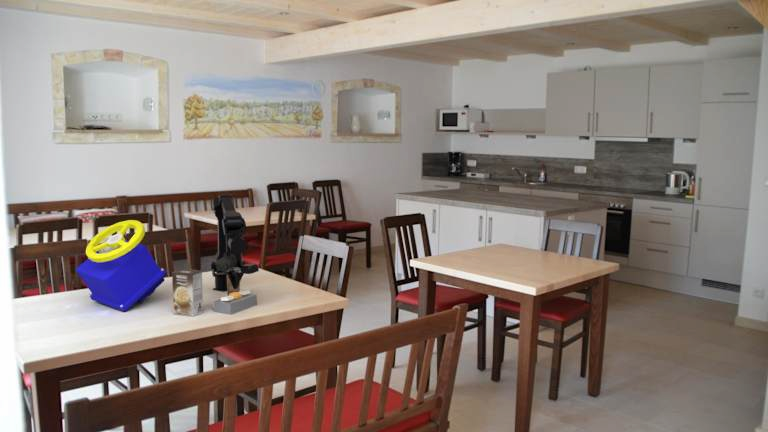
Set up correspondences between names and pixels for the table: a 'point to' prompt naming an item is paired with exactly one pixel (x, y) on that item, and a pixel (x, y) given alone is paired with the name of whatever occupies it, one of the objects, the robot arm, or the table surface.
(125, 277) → the control box
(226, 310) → the switch panel
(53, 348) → the table surface
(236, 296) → the block
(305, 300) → the table surface
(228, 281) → the wood post
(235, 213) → the robot arm
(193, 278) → the coffee box
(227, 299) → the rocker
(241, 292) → the block
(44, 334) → the table surface
